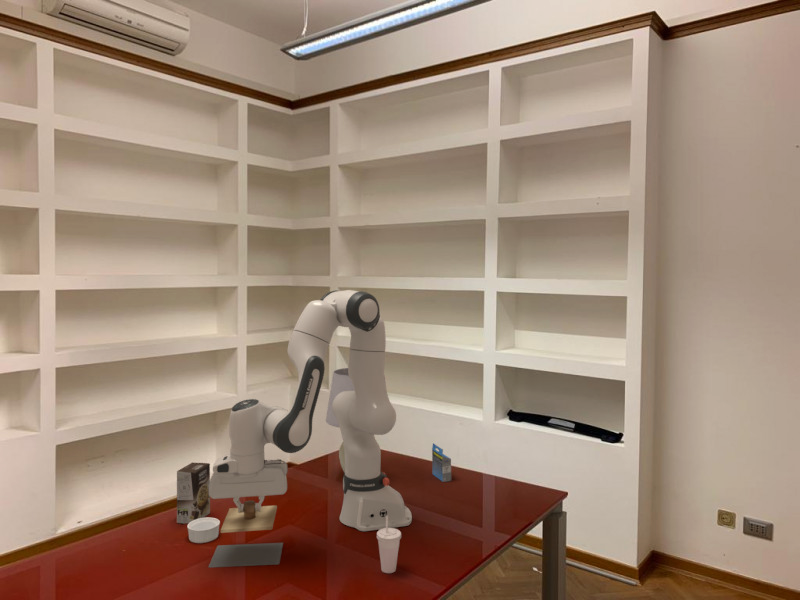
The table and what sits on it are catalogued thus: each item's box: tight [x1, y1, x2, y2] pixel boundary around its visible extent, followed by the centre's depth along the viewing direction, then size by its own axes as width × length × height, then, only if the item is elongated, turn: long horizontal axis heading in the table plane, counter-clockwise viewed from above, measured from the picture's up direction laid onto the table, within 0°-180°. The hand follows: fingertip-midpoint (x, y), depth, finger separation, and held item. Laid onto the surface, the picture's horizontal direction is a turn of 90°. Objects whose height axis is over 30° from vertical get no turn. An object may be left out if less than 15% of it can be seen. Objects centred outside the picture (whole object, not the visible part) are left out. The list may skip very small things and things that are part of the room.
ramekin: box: [186, 516, 221, 544], centre depth 167 cm, size 9×9×4 cm
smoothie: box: [376, 516, 402, 574], centre depth 150 cm, size 6×6×14 cm
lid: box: [220, 499, 278, 534], centre depth 157 cm, size 13×13×5 cm
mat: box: [208, 542, 284, 568], centre depth 157 cm, size 18×12×1 cm, turn 96°
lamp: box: [325, 367, 387, 474], centre depth 215 cm, size 24×24×40 cm
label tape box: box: [431, 442, 452, 483], centre depth 217 cm, size 9×4×12 cm, turn 23°
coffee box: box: [176, 462, 211, 525], centre depth 180 cm, size 9×6×16 cm
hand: (249, 511), depth 157 cm, fingers closed on lid, 3 cm apart
